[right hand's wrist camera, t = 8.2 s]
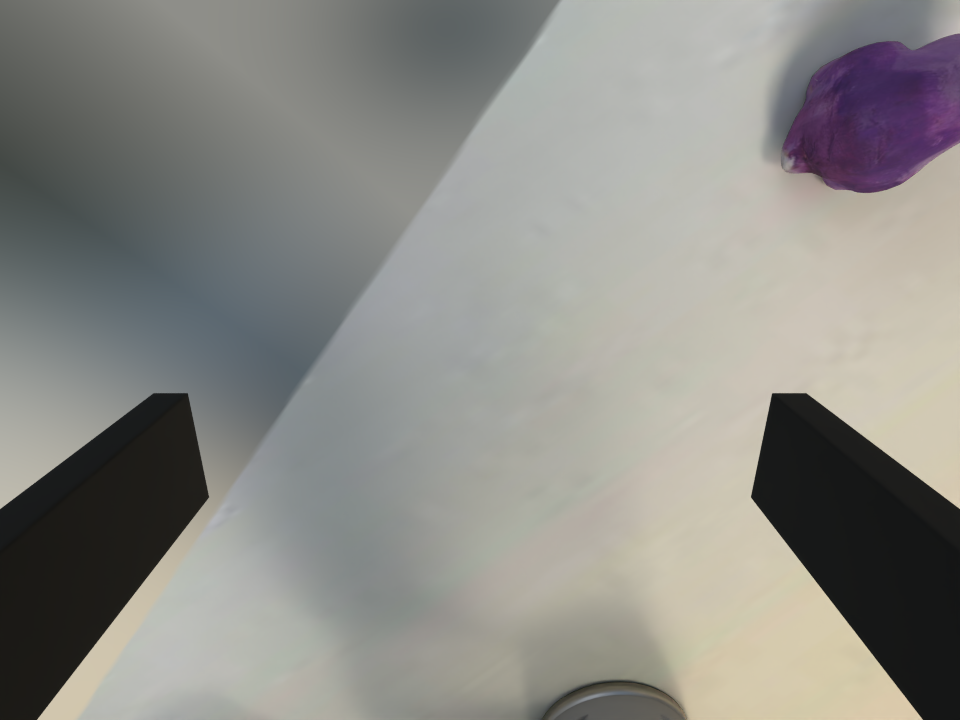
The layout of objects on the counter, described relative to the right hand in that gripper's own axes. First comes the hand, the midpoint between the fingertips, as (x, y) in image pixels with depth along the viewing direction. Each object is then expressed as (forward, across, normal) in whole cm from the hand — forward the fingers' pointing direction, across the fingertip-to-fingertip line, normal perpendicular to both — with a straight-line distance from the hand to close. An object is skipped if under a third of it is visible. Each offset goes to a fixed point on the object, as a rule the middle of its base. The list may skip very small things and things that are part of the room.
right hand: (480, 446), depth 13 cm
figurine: (+28, -24, -9) cm, 38 cm away
